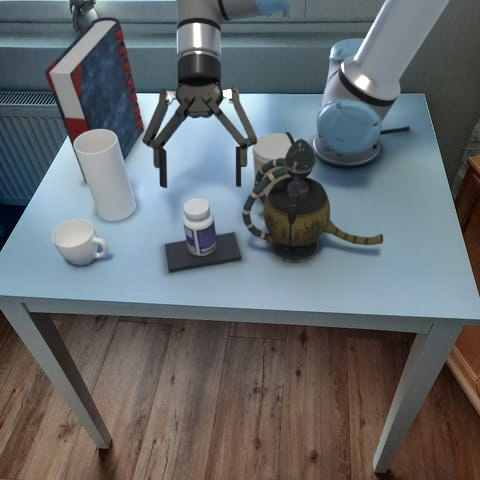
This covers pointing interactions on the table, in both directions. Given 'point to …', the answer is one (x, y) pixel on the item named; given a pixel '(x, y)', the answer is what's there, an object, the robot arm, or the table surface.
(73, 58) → the book
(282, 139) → the coffee cup
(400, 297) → the table surface
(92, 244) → the cup
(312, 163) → the teapot
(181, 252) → the mat
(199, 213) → the pill bottle
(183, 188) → the table surface
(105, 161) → the cup
